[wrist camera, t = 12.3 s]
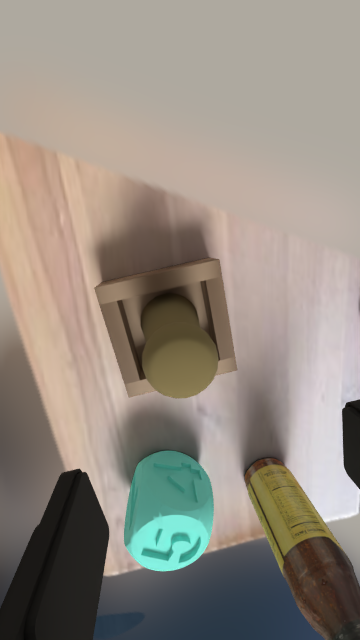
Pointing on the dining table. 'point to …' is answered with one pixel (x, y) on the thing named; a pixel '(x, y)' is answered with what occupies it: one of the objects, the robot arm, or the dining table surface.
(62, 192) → the dining table surface
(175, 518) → the decorative dice
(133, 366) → the shaker holder
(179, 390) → the cork
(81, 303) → the dining table surface
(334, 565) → the sauce bottle
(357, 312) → the dining table surface
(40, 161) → the dining table surface
